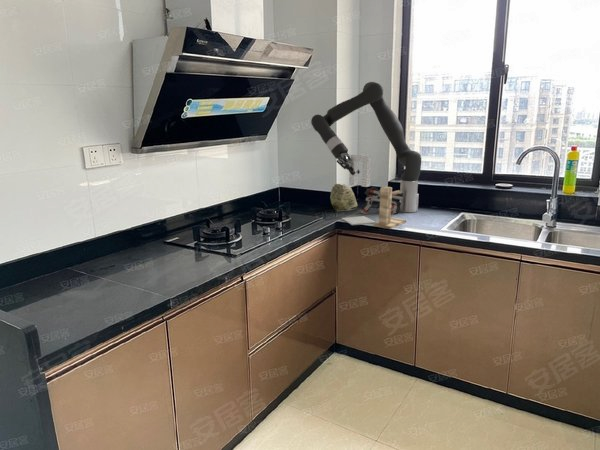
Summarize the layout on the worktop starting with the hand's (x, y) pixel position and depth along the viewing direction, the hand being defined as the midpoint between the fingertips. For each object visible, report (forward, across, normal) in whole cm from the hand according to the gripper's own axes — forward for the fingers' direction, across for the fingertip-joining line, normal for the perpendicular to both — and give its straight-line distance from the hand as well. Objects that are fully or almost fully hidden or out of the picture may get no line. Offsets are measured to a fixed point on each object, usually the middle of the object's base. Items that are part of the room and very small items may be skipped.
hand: (356, 173), depth 221 cm
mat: (+18, 0, +16) cm, 24 cm away
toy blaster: (+19, +22, +15) cm, 33 cm away
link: (+5, 0, +3) cm, 6 cm away
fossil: (+4, +18, +30) cm, 35 cm away
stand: (+29, +5, +5) cm, 30 cm away
